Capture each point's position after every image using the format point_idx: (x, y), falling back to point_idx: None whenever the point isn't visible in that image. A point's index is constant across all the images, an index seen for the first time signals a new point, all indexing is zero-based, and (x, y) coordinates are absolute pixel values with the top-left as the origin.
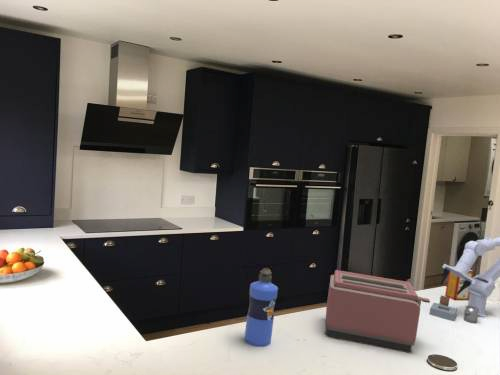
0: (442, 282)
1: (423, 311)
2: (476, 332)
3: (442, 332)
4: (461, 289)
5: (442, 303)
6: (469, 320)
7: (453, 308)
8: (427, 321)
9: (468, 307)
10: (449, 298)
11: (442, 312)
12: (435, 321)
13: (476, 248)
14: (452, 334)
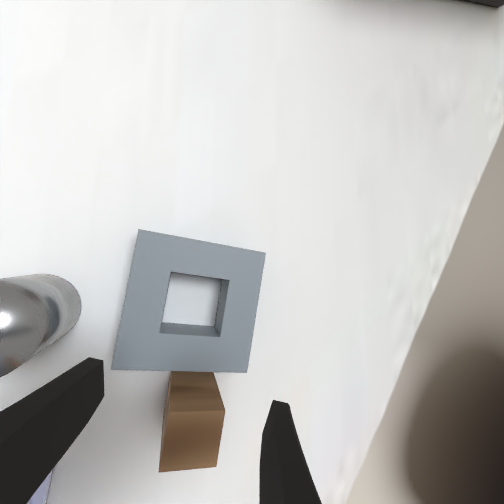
0: (281, 422)
1: (277, 276)
2: (24, 126)
3: (204, 42)
4: (20, 405)
5: (201, 389)
6: (44, 275)
7: (137, 352)
8: (261, 148)
9: (15, 320)
10: (160, 458)
11: (204, 242)
12: (230, 170)
13: None
14: (161, 36)
